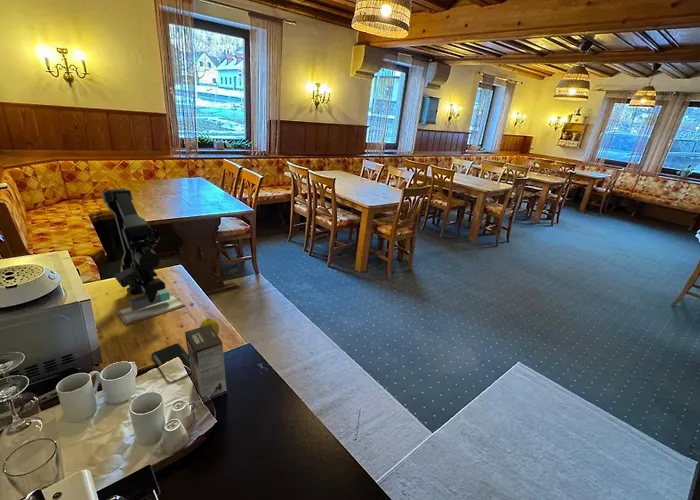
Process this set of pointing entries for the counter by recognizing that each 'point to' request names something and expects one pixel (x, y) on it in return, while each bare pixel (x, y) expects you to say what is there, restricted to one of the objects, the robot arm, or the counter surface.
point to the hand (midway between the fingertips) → (150, 300)
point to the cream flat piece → (149, 310)
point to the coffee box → (206, 360)
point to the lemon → (211, 322)
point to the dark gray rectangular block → (144, 301)
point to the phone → (171, 355)
